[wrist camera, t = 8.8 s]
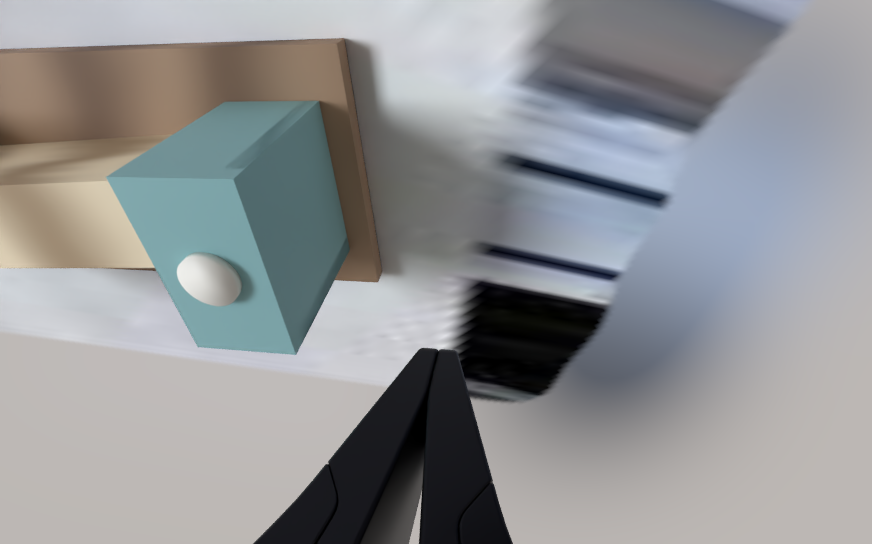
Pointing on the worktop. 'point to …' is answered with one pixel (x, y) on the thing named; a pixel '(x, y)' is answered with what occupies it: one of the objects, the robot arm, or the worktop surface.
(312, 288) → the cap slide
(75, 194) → the wooden block
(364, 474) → the robot arm
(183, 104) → the board
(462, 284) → the worktop surface
